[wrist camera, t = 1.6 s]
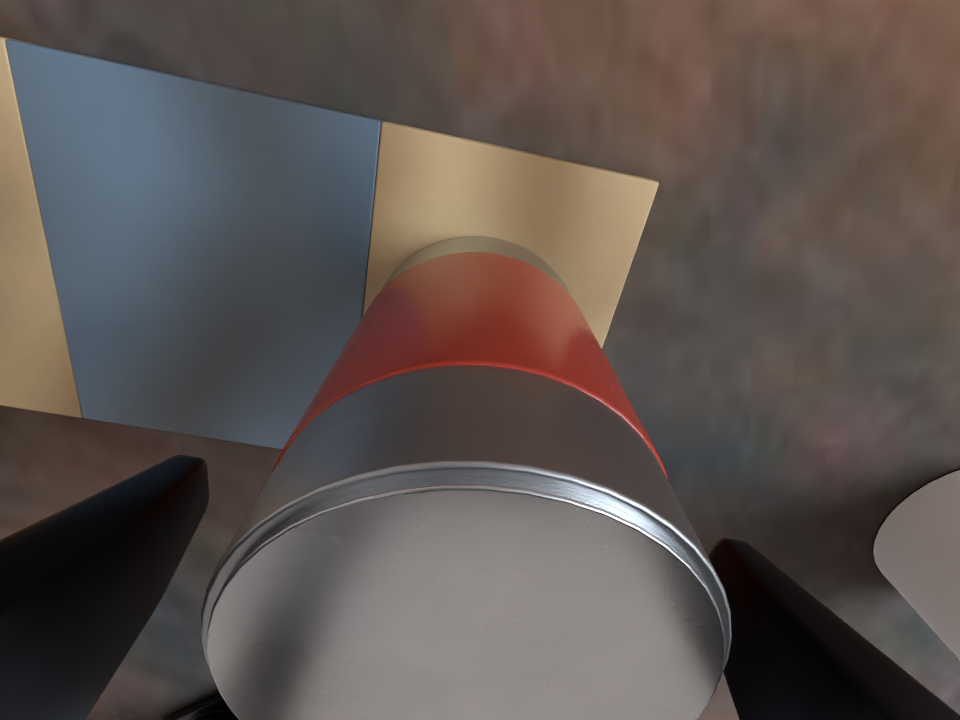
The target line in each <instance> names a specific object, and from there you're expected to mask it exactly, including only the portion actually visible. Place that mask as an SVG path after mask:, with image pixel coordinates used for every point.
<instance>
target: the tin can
mask: <svg viewBox="0 0 960 720" xmlns="http://www.w3.org/2000/svg"><path fill="white" fill-rule="evenodd" d="M731 638H732V634H731V613H730V608H729V604H728V601H727V597H726V593H725V589H724V587H723V585H722V583H721V581H720V579H719V577H718V575H717V573H716V571H715V569H714V567H713V565H712V564H711V562H710V560H709V558H708V556H707V554H706V552H705V550H704V548H703V546H702V544H701V543H700V541H699V539H698V537H697V535H696V533H695V531H694V529H693V527H692V525H691V524H690V522H689V520H688V518H687V516H686V514H685V512H684V510H683V508H682V506H681V504H680V503H679V501H678V499H677V497H676V495H675V493H674V491H673V489H672V487H671V485H670V483H669V480H668V476H667V473H666V470H665V467H664V465H663V463H662V461H661V459H660V457H659V455H658V453H657V451H656V449H655V447H654V446H653V444H652V442H651V440H650V438H649V436H648V434H647V433H646V431H645V429H644V427H643V425H642V423H641V421H640V419H639V418H638V416H637V414H636V412H635V410H634V408H633V406H632V405H631V403H630V401H629V399H628V397H627V395H626V393H625V392H624V390H623V388H622V386H621V384H620V382H619V380H618V379H617V377H616V375H615V373H614V371H613V369H612V367H611V365H610V364H609V362H608V360H607V358H606V356H605V354H604V352H603V351H602V349H601V347H600V345H599V343H598V341H597V339H596V338H595V336H594V334H593V332H592V330H591V328H590V326H589V325H588V323H587V321H586V319H585V317H584V315H583V313H582V312H581V310H580V308H579V307H578V305H577V304H576V302H575V301H574V299H573V298H572V297H571V295H570V293H569V291H568V289H567V287H566V285H565V284H564V283H563V281H562V280H561V278H560V277H559V275H558V274H557V273H556V272H555V271H554V270H553V269H552V268H551V267H550V266H549V265H548V264H547V263H546V262H545V261H544V260H542V259H541V258H540V257H539V256H537V255H536V254H534V253H532V252H531V251H529V250H527V249H526V248H524V247H521V246H519V245H517V244H514V243H512V242H509V241H505V240H501V239H498V238H491V237H484V236H465V237H457V238H451V239H447V240H444V241H440V242H437V243H435V244H432V245H430V246H427V247H425V248H423V249H422V250H420V251H418V252H417V253H415V254H413V255H412V256H410V257H409V258H408V259H407V260H405V261H404V262H403V263H402V264H401V265H400V266H399V267H398V268H397V269H396V270H395V271H394V272H393V273H392V274H391V276H390V277H389V279H388V280H387V281H386V283H385V284H384V286H383V288H382V289H381V291H380V293H379V294H378V295H377V296H376V297H375V299H374V300H373V302H372V303H371V304H370V306H369V307H368V309H367V311H366V312H365V314H364V315H363V317H362V319H361V320H360V322H359V324H358V325H357V327H356V329H355V330H354V332H353V334H352V335H351V337H350V339H349V340H348V342H347V344H346V345H345V347H344V348H343V350H342V352H341V353H340V355H339V357H338V358H337V360H336V362H335V363H334V365H333V367H332V368H331V370H330V372H329V373H328V375H327V377H326V378H325V380H324V382H323V383H322V385H321V386H320V388H319V390H318V391H317V393H316V395H315V396H314V398H313V400H312V401H311V403H310V405H309V406H308V408H307V410H306V411H305V413H304V415H303V416H302V418H301V419H300V421H299V423H298V424H297V426H296V428H295V429H294V431H293V433H292V434H291V436H290V438H289V439H288V441H287V443H286V444H285V446H284V448H283V450H282V452H281V454H280V456H279V458H278V460H277V462H276V464H275V466H274V468H273V472H272V475H271V476H270V478H269V480H268V481H267V483H266V485H265V487H264V488H263V490H262V492H261V493H260V495H259V497H258V498H257V500H256V502H255V503H254V505H253V507H252V508H251V510H250V512H249V514H248V515H247V517H246V519H245V520H244V522H243V524H242V525H241V527H240V529H239V530H238V532H237V534H236V535H235V537H234V539H233V540H232V542H231V544H230V546H229V547H228V549H227V551H226V552H225V554H224V556H223V557H222V559H221V561H220V562H219V564H218V566H217V568H216V570H215V572H214V574H213V577H212V579H211V581H210V583H209V585H208V587H207V590H206V595H205V599H204V603H203V608H202V613H201V639H202V644H203V649H204V654H205V658H206V661H207V663H208V666H209V668H210V670H211V674H212V676H213V678H214V681H215V683H216V686H217V688H218V690H219V692H220V694H221V696H222V697H223V699H224V700H225V702H226V703H227V705H228V706H229V708H230V709H231V711H232V712H233V713H234V714H235V715H236V716H237V718H238V719H239V720H696V719H697V718H698V716H699V715H700V714H701V713H702V712H703V711H704V709H705V707H706V706H707V704H708V702H709V701H710V699H711V697H712V696H713V694H714V692H715V690H716V687H717V685H718V682H719V681H720V679H721V676H722V674H723V671H724V668H725V666H726V663H727V661H728V656H729V650H730V644H731Z"/></svg>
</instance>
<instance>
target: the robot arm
mask: <svg viewBox="0 0 960 720" xmlns="http://www.w3.org/2000/svg"><path fill="white" fill-rule="evenodd" d="M208 501H209V487H208V472H207V464H206V462H205V460H204V459H202V458H198V457H191V456H185V455H177V456H174V457H172V458H170V459H168V460H166V461H164V462H161V463H159V464H157V465H155V466H153V467H151V468H149V469H147V470H145V471H143V472H141V473H139V474H137V475H135V476H132V477H130V478H128V479H126V480H124V481H122V482H120V483H118V484H116V485H114V486H112V487H110V488H108V489H105V490H103V491H101V492H99V493H97V494H95V495H93V496H91V497H89V498H87V499H85V500H83V501H81V502H78V503H76V504H74V505H72V506H70V507H68V508H66V509H64V510H62V511H60V512H58V513H56V514H54V515H52V516H49V517H47V518H45V519H43V520H41V521H39V522H37V523H35V524H33V525H31V526H29V527H27V528H25V529H22V530H20V531H18V532H16V533H14V534H12V535H10V536H8V537H6V538H4V539H2V540H0V720H85V719H86V717H87V716H88V714H89V713H90V711H91V710H92V708H93V706H94V705H95V703H96V702H97V700H98V699H99V697H100V695H101V694H102V692H103V691H104V689H105V688H106V686H107V684H108V683H109V681H110V680H111V678H112V676H113V675H114V673H115V672H116V670H117V669H118V667H119V665H120V664H121V662H122V661H123V659H124V658H125V656H126V654H127V653H128V651H129V650H130V648H131V646H132V645H133V643H134V642H135V640H136V639H137V637H138V635H139V634H140V632H141V631H142V629H143V628H144V626H145V624H146V623H147V621H148V620H149V618H150V616H151V615H152V613H153V612H154V610H155V608H156V607H157V605H158V603H159V602H160V600H161V598H162V596H163V594H164V592H165V591H166V589H167V587H168V585H169V583H170V581H171V579H172V577H173V575H174V573H175V571H176V569H177V567H178V565H179V563H180V561H181V559H182V557H183V555H184V553H185V551H186V549H187V547H188V545H189V543H190V541H191V539H192V537H193V535H194V533H195V531H196V529H197V527H198V525H199V523H200V521H201V519H202V517H203V515H204V513H205V511H206V508H207V505H208ZM708 558H709V560H710V562H711V564H712V565H713V567H714V569H715V571H716V573H717V575H718V577H719V579H720V581H721V583H722V585H723V587H724V589H725V593H726V597H727V601H728V604H729V608H730V613H731V634H732V638H731V644H730V650H729V656H728V661H727V663H726V666H725V668H724V671H723V672H724V675H725V678H726V681H727V684H728V687H729V690H730V693H731V696H732V699H733V702H734V705H735V708H736V711H737V713H738V716H739V719H740V720H960V715H959V714H958V713H956V712H955V711H954V710H953V709H951V708H950V707H949V706H948V705H946V704H945V703H944V702H943V701H942V700H940V699H939V698H938V697H937V696H935V695H934V694H933V693H932V692H930V691H929V690H928V689H927V688H926V687H924V686H923V685H922V684H921V683H919V682H918V681H917V680H916V679H914V678H913V677H912V676H911V675H909V674H908V673H907V672H906V671H905V670H903V669H902V668H901V667H900V666H898V665H897V664H896V663H895V662H893V661H892V660H891V659H890V658H889V657H887V656H886V655H885V654H884V653H882V652H881V651H880V650H879V649H877V648H876V647H875V646H874V645H872V644H871V643H870V642H869V641H868V640H866V639H865V638H864V637H863V636H861V635H860V634H859V633H858V632H856V631H855V630H854V629H853V628H852V627H850V626H849V625H848V624H847V623H845V622H844V621H843V620H842V619H840V618H839V617H838V616H837V615H835V614H834V613H833V612H832V611H831V610H829V609H828V608H827V607H826V606H824V605H823V604H822V603H821V602H819V601H818V600H817V599H816V598H815V597H813V596H812V595H811V594H810V593H808V592H807V591H806V590H805V589H803V588H802V587H801V586H800V585H798V584H797V583H796V582H795V581H794V580H792V579H791V578H790V577H789V576H787V575H786V574H785V573H784V572H782V571H781V570H780V569H779V568H778V567H776V566H775V565H774V564H773V563H771V562H770V561H769V560H768V559H766V558H765V557H764V556H763V555H762V554H760V553H759V552H758V551H757V550H755V549H754V548H753V547H752V546H750V545H749V544H748V543H746V542H744V541H741V540H735V539H729V538H722V539H720V540H719V541H718V542H717V543H716V544H715V546H714V548H713V550H712V551H711V553H710V555H709V556H708ZM163 720H239V719H238V718H237V716H236V715H235V714H234V713H233V712H232V711H231V709H230V708H229V706H228V705H227V703H226V702H225V700H224V699H223V697H222V696H221V694H220V693H219V694H217V695H215V696H213V697H210V698H208V699H206V700H204V701H202V702H200V703H197V704H195V705H193V706H191V707H189V708H187V709H185V710H182V711H180V712H178V713H176V714H174V715H172V716H169V717H167V718H165V719H163Z"/></svg>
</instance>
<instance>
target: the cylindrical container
mask: <svg viewBox="0 0 960 720" xmlns="http://www.w3.org/2000/svg"><path fill="white" fill-rule="evenodd" d="M873 554H874V559H875V563H876V565H877V567H878V568H879V570H880V571H881V573H882V574H883V575H884V576H885V577H886V578H887V579H888V581H889V582H890V583H891V584H892V585H893V586H894V587H895V588H896V590H897V591H898V592H899V593H900V594H901V595H902V596H903V597H904V598H905V600H906V601H907V602H908V603H909V604H910V605H911V606H912V607H913V608H914V610H915V611H916V612H917V613H918V614H919V615H920V616H921V617H922V619H923V620H924V621H925V622H926V623H927V624H928V625H929V626H930V627H931V629H932V630H933V631H934V632H935V633H936V634H937V635H938V636H939V638H940V639H941V640H942V641H943V642H944V643H945V644H946V645H947V646H948V648H949V649H950V650H951V651H952V652H953V653H954V654H955V655H956V656H957V658H958V659H959V660H960V470H958V471H955V472H952V473H950V474H947V475H945V476H943V477H941V478H939V479H937V480H935V481H932V482H930V483H929V484H927V485H925V486H924V487H922V488H921V489H919V490H917V491H916V492H914V493H913V494H911V495H910V496H909V497H908V498H907V499H905V500H904V501H903V502H902V503H900V504H899V505H898V506H897V507H896V508H895V509H894V510H893V511H892V513H891V514H890V515H889V516H888V517H887V518H886V520H885V521H884V523H883V524H882V526H881V527H880V529H879V531H878V534H877V536H876V539H875V542H874V550H873Z"/></svg>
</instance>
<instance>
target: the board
mask: <svg viewBox="0 0 960 720" xmlns="http://www.w3.org/2000/svg"><path fill="white" fill-rule="evenodd" d="M658 185H659V183H658V182H657V181H654V180H651V179H648V178H644V177H639V176H635V175H630V174H626V173H621V172H617V171H612V170H608V169H603V168H599V167H594V166H589V165H585V164H580V163H576V162H571V161H567V160H562V159H558V158H553V157H548V156H544V155H539V154H535V153H530V152H526V151H521V150H517V149H512V148H508V147H503V146H498V145H494V144H489V143H485V142H480V141H476V140H471V139H467V138H462V137H458V136H453V135H448V134H444V133H439V132H435V131H430V130H426V129H421V128H417V127H412V126H408V125H403V124H398V123H394V122H386V121H385V120H380V119H376V118H371V117H367V116H362V115H358V114H353V113H348V112H344V111H339V110H335V109H330V108H326V107H321V106H317V105H312V104H308V103H303V102H298V101H294V100H289V99H285V98H280V97H276V96H271V95H267V94H262V93H257V92H253V91H248V90H244V89H239V88H235V87H230V86H226V85H221V84H217V83H212V82H207V81H203V80H198V79H194V78H189V77H185V76H180V75H176V74H171V73H167V72H162V71H157V70H153V69H148V68H144V67H139V66H135V65H130V64H126V63H121V62H117V61H112V60H107V59H103V58H98V57H94V56H89V55H85V54H80V53H76V52H71V51H67V50H62V49H57V48H53V47H48V46H44V45H39V44H34V43H30V42H26V41H21V40H17V39H12V38H7V37H3V36H0V405H2V406H8V407H15V408H21V409H28V410H34V411H40V412H47V413H53V414H59V415H66V416H72V417H79V418H82V417H83V418H86V419H92V420H98V421H105V422H111V423H118V424H124V425H130V426H137V427H143V428H150V429H156V430H162V431H169V432H175V433H182V434H188V435H194V436H201V437H207V438H213V439H220V440H226V441H233V442H239V443H245V444H252V445H258V446H265V447H271V448H277V449H283V448H284V446H285V444H286V443H287V441H288V439H289V438H290V436H291V434H292V433H293V431H294V429H295V428H296V426H297V424H298V423H299V421H300V419H301V418H302V416H303V415H304V413H305V411H306V410H307V408H308V406H309V405H310V403H311V401H312V400H313V398H314V396H315V395H316V393H317V391H318V390H319V388H320V386H321V385H322V383H323V382H324V380H325V378H326V377H327V375H328V373H329V372H330V370H331V368H332V367H333V365H334V363H335V362H336V360H337V358H338V357H339V355H340V353H341V352H342V350H343V348H344V347H345V345H346V344H347V342H348V340H349V339H350V337H351V335H352V334H353V332H354V330H355V329H356V327H357V325H358V324H359V322H360V320H361V319H362V317H363V315H364V314H365V312H366V311H367V309H368V307H369V306H370V304H371V303H372V302H373V300H374V299H375V297H376V296H377V295H378V294H379V293H380V291H381V289H382V288H383V286H384V284H385V283H386V281H387V280H388V279H389V277H390V276H391V274H392V273H393V272H394V271H395V270H396V269H397V268H398V267H399V266H400V265H401V264H402V263H403V262H404V261H405V260H407V259H408V258H409V257H410V256H412V255H413V254H415V253H417V252H418V251H420V250H422V249H423V248H425V247H427V246H430V245H432V244H435V243H437V242H440V241H444V240H447V239H451V238H457V237H465V236H484V237H491V238H498V239H501V240H505V241H509V242H512V243H514V244H517V245H519V246H521V247H524V248H526V249H527V250H529V251H531V252H532V253H534V254H536V255H537V256H539V257H540V258H541V259H542V260H544V261H545V262H546V263H547V264H548V265H549V266H550V267H551V268H552V269H553V270H554V271H555V272H556V273H557V274H558V275H559V277H560V278H561V280H562V281H563V283H564V284H565V285H566V287H567V289H568V291H569V293H570V295H571V297H572V298H573V299H574V301H575V302H576V304H577V305H578V307H579V308H580V310H581V312H582V313H583V315H584V317H585V319H586V321H587V323H588V325H589V326H590V328H591V330H592V332H593V334H594V336H595V338H596V339H597V341H598V343H599V345H600V347H601V349H602V347H603V344H604V341H605V338H606V335H607V332H608V329H609V327H610V324H611V321H612V318H613V315H614V312H615V309H616V306H617V303H618V301H619V298H620V295H621V292H622V289H623V286H624V283H625V280H626V278H627V275H628V272H629V269H630V266H631V263H632V260H633V257H634V254H635V252H636V249H637V246H638V243H639V240H640V237H641V234H642V231H643V229H644V226H645V223H646V220H647V217H648V214H649V211H650V208H651V206H652V203H653V200H654V197H655V194H656V191H657V188H658Z"/></svg>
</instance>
